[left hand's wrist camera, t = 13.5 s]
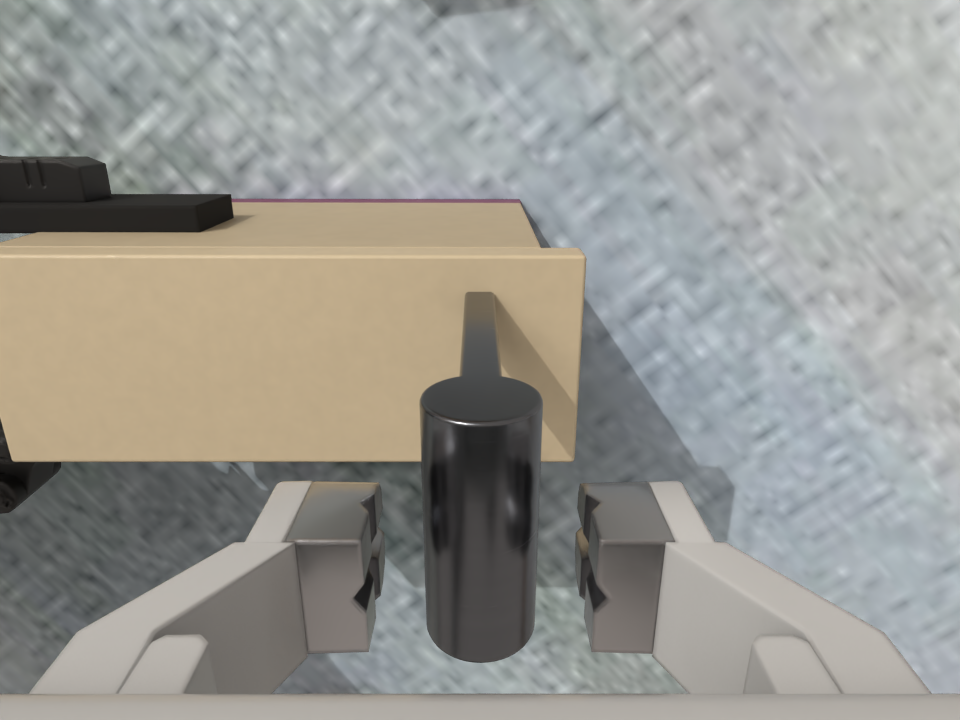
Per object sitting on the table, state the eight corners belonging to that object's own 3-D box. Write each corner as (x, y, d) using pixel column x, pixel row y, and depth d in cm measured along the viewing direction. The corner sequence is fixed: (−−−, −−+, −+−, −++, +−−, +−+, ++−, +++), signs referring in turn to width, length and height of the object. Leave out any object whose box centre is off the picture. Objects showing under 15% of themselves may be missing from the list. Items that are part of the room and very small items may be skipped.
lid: (580, 247, 16) (677, 374, 8) (569, 445, 18) (640, 699, 10) (-17, 246, 16) (-483, 372, 8) (35, 444, 18) (-306, 700, 10)
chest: (519, 199, 25) (542, 246, 16) (516, 336, 27) (535, 444, 18) (159, 198, 25) (-16, 245, 16) (181, 335, 27) (35, 444, 18)
